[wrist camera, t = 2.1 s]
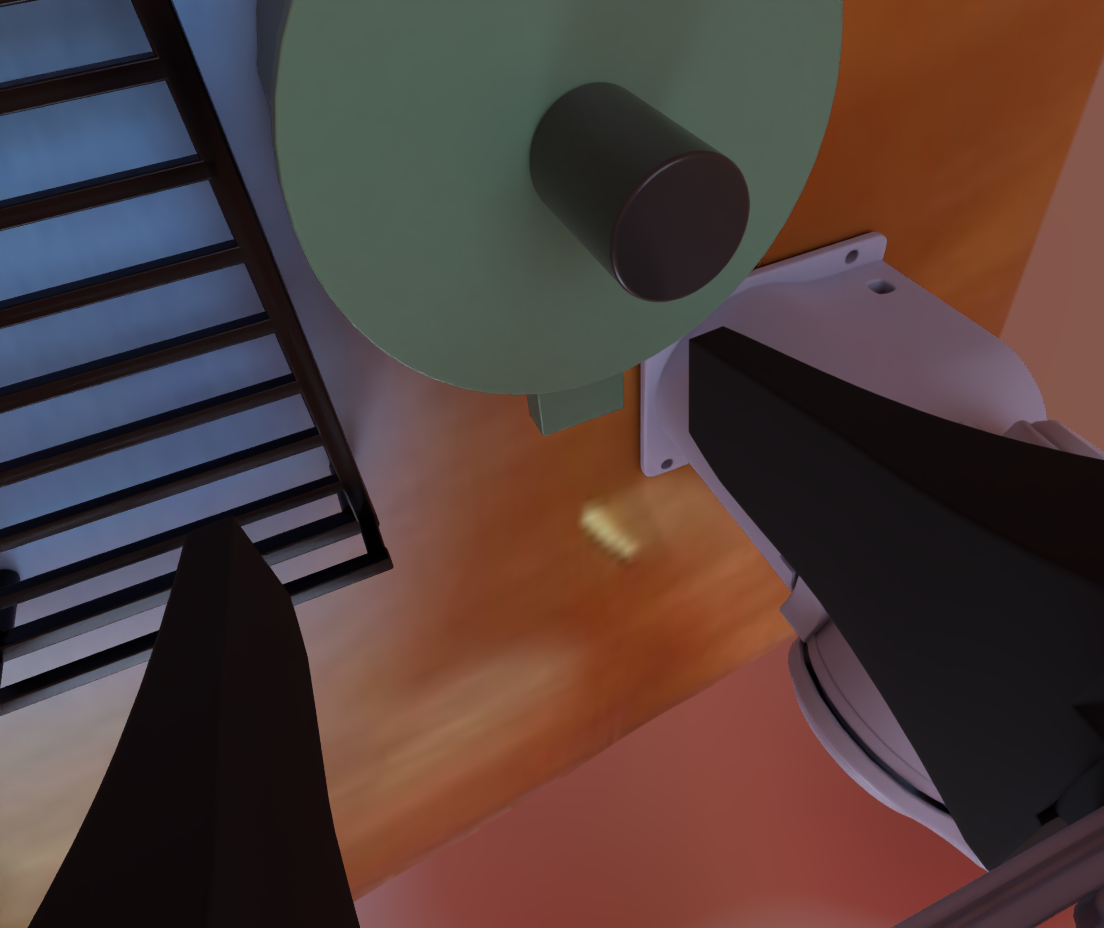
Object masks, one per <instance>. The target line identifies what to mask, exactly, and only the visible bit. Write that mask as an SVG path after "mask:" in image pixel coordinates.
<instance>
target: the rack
mask: <svg viewBox="0 0 1104 928" xmlns="http://www.w3.org/2000/svg"><path fill="white" fill-rule="evenodd" d="M31 1H37V0H0V7H4V6H10V5H15V4H21V3H26V2H31ZM131 2H132V4H133V7H134V9H135V11H136V14H137V16H138V18H139V21H140V23H141V25H142V28H143V30H144V32H145V35H146V37H147V39H148V41H149V44H150V46H151V48H152V51H151V52H147V53H142V54H137V55H132V56H127V57H122V58H118V59H113V60H108V61H103V62H98V63H93V64H89V65H84V66H79V67H74V68H69V69H64V70H60V71H55V72H50V73H45V74H40V75H35V76H31V77H26V78H21V79H16V80H11V81H6V82H2V83H0V116H3V115H8V114H12V113H17V112H22V111H26V110H31V109H35V108H40V107H45V106H49V105H54V104H59V103H63V102H68V101H73V100H77V99H82V98H86V97H91V96H96V95H100V94H105V93H110V92H114V91H119V90H124V89H128V88H133V87H137V86H142V85H147V84H151V83H156V82H161V81H166V83H167V85H168V88H169V90H170V92H171V95H172V97H173V99H174V102H175V104H176V106H177V109H178V111H179V113H180V116H181V118H182V120H183V122H184V125H185V127H186V129H187V132H188V134H189V136H190V139H191V141H192V143H193V146H194V148H195V150H196V153H197V154H194V155H190V156H186V157H182V158H178V159H173V160H169V161H165V162H161V163H157V164H152V165H148V166H144V167H140V168H136V169H131V170H127V171H123V172H119V173H115V174H110V175H106V176H102V177H98V178H94V179H89V180H85V181H81V182H77V183H73V184H68V185H64V186H60V187H56V188H52V189H47V190H43V191H39V192H35V193H31V194H27V195H22V196H18V197H14V198H10V199H6V200H1V201H0V231H2V230H6V229H11V228H15V227H19V226H23V225H27V224H31V223H35V222H39V221H43V220H47V219H51V218H55V217H59V216H63V215H67V214H71V213H75V212H80V211H84V210H88V209H92V208H96V207H100V206H104V205H108V204H112V203H116V202H120V201H124V200H128V199H132V198H136V197H140V196H144V195H149V194H153V193H157V192H161V191H165V190H169V189H173V188H177V187H181V186H185V185H189V184H193V183H197V182H201V181H205V180H209V183H210V185H211V187H212V190H213V192H214V194H215V196H216V199H217V201H218V203H219V206H220V208H221V210H222V213H223V215H224V217H225V220H226V222H227V224H228V227H229V229H230V231H231V233H232V236H233V238H234V239H233V240H229V241H226V242H222V243H218V244H214V245H210V246H207V247H203V248H199V249H195V250H192V251H188V252H184V253H180V254H176V255H173V256H169V257H165V258H161V259H158V260H154V261H150V262H146V263H143V264H139V265H135V266H131V267H127V268H124V269H120V270H116V271H112V272H109V273H105V274H101V275H97V276H93V277H90V278H86V279H82V280H78V281H75V282H71V283H67V284H63V285H60V286H56V287H52V288H48V289H44V290H41V291H37V292H33V293H29V294H26V295H22V296H18V297H14V298H11V299H7V300H3V301H0V329H3V328H6V327H10V326H14V325H17V324H21V323H25V322H28V321H32V320H36V319H39V318H43V317H47V316H50V315H54V314H58V313H61V312H65V311H69V310H72V309H76V308H80V307H83V306H87V305H91V304H94V303H98V302H102V301H105V300H109V299H113V298H116V297H120V296H124V295H127V294H131V293H135V292H138V291H142V290H146V289H149V288H153V287H157V286H160V285H164V284H168V283H171V282H175V281H179V280H182V279H186V278H190V277H193V276H197V275H201V274H205V273H208V272H212V271H216V270H219V269H223V268H227V267H230V266H234V265H238V264H241V263H244V264H245V266H246V268H247V270H248V273H249V275H250V277H251V280H252V282H253V284H254V287H255V289H256V291H257V294H258V296H259V298H260V301H261V303H262V305H263V308H264V310H265V312H261V313H258V314H254V315H251V316H247V317H244V318H241V319H237V320H234V321H230V322H227V323H223V324H220V325H216V326H213V327H209V328H206V329H202V330H199V331H195V332H192V333H188V334H185V335H182V336H178V337H175V338H171V339H168V340H164V341H161V342H157V343H154V344H150V345H147V346H143V347H140V348H136V349H133V350H129V351H126V352H123V353H119V354H116V355H112V356H109V357H105V358H102V359H98V360H95V361H91V362H88V363H84V364H81V365H77V366H74V367H70V368H67V369H64V370H60V371H57V372H53V373H50V374H46V375H43V376H39V377H36V378H32V379H29V380H25V381H22V382H18V383H15V384H11V385H8V386H5V387H1V388H0V414H1V413H5V412H8V411H12V410H15V409H18V408H22V407H25V406H29V405H32V404H35V403H39V402H42V401H46V400H49V399H52V398H56V397H59V396H62V395H66V394H69V393H73V392H76V391H79V390H83V389H86V388H90V387H93V386H96V385H100V384H103V383H107V382H110V381H113V380H117V379H120V378H123V377H127V376H130V375H134V374H137V373H140V372H144V371H147V370H151V369H154V368H157V367H161V366H164V365H168V364H171V363H174V362H178V361H181V360H184V359H188V358H191V357H195V356H198V355H201V354H205V353H208V352H212V351H215V350H218V349H222V348H225V347H229V346H232V345H235V344H239V343H242V342H245V341H249V340H252V339H256V338H259V337H262V336H266V335H269V334H273V333H275V335H276V338H277V340H278V342H279V345H280V347H281V349H282V351H283V354H284V356H285V358H286V361H287V363H288V365H289V368H290V370H291V372H292V373H291V374H288V375H285V376H281V377H278V378H275V379H272V380H268V381H265V382H262V383H259V384H255V385H252V386H249V387H246V388H242V389H239V390H236V391H233V392H229V393H226V394H223V395H220V396H216V397H213V398H210V399H207V400H203V401H200V402H197V403H194V404H190V405H187V406H184V407H181V408H177V409H174V410H171V411H168V412H165V413H161V414H158V415H155V416H152V417H148V418H145V419H142V420H139V421H135V422H132V423H129V424H126V425H122V426H119V427H116V428H113V429H109V430H106V431H103V432H100V433H96V434H93V435H90V436H87V437H83V438H80V439H77V440H74V441H70V442H67V443H64V444H61V445H57V446H54V447H51V448H48V449H44V450H41V451H38V452H35V453H32V454H28V455H25V456H22V457H19V458H15V459H12V460H9V461H6V462H2V463H0V488H1V487H4V486H7V485H10V484H13V483H17V482H20V481H23V480H26V479H29V478H33V477H36V476H39V475H42V474H45V473H48V472H52V471H55V470H58V469H61V468H64V467H67V466H71V465H74V464H77V463H80V462H83V461H87V460H90V459H93V458H96V457H99V456H102V455H106V454H109V453H112V452H115V451H118V450H121V449H125V448H128V447H131V446H134V445H137V444H141V443H144V442H147V441H150V440H153V439H156V438H160V437H163V436H166V435H169V434H172V433H175V432H179V431H182V430H185V429H188V428H191V427H195V426H198V425H201V424H204V423H207V422H210V421H214V420H217V419H220V418H223V417H226V416H229V415H233V414H236V413H239V412H242V411H245V410H249V409H252V408H255V407H258V406H261V405H264V404H268V403H271V402H274V401H277V400H280V399H283V398H287V397H290V396H293V395H296V394H299V393H301V395H302V398H303V400H304V402H305V405H306V407H307V409H308V412H309V414H310V416H311V419H312V421H313V423H314V425H315V427H313V428H310V429H307V430H304V431H301V432H298V433H295V434H291V435H288V436H285V437H282V438H279V439H276V440H273V441H270V442H267V443H264V444H261V445H258V446H255V447H252V448H249V449H245V450H242V451H239V452H236V453H233V454H230V455H227V456H224V457H221V458H218V459H215V460H212V461H209V462H206V463H202V464H199V465H196V466H193V467H190V468H187V469H184V470H181V471H178V472H175V473H172V474H169V475H166V476H163V477H160V478H156V479H153V480H150V481H147V482H144V483H141V484H138V485H135V486H132V487H129V488H126V489H123V490H120V491H117V492H114V493H110V494H107V495H104V496H101V497H98V498H95V499H92V500H89V501H86V502H83V503H80V504H77V505H74V506H71V507H67V508H64V509H61V510H58V511H55V512H52V513H49V514H46V515H43V516H40V517H37V518H34V519H31V520H28V521H25V522H21V523H18V524H15V525H12V526H9V527H6V528H3V529H0V552H3V551H6V550H9V549H12V548H15V547H18V546H21V545H24V544H27V543H30V542H33V541H36V540H39V539H42V538H45V537H48V536H51V535H55V534H58V533H61V532H64V531H67V530H70V529H73V528H76V527H79V526H82V525H85V524H88V523H91V522H94V521H97V520H100V519H103V518H106V517H109V516H112V515H115V514H118V513H121V512H124V511H127V510H130V509H133V508H136V507H139V506H142V505H145V504H148V503H151V502H154V501H157V500H160V499H163V498H166V497H169V496H172V495H175V494H178V493H181V492H184V491H187V490H190V489H193V488H196V487H199V486H202V485H205V484H208V483H211V482H214V481H217V480H220V479H223V478H226V477H229V476H232V475H235V474H238V473H241V472H244V471H247V470H250V469H253V468H256V467H259V466H262V465H265V464H268V463H271V462H274V461H277V460H280V459H283V458H286V457H289V456H292V455H295V454H298V453H301V452H304V451H307V450H310V449H313V448H316V447H319V446H324V449H325V451H326V453H327V456H328V458H329V460H330V465H329V468H330V471H331V475H330V476H327V477H324V478H321V479H318V480H315V481H312V482H310V483H307V484H304V485H301V486H298V487H295V488H292V489H289V490H286V491H283V492H280V493H277V494H274V495H271V496H269V497H266V498H263V499H260V500H257V501H254V502H251V503H248V504H245V505H242V506H239V507H236V508H233V509H230V510H228V511H225V512H222V513H219V514H216V515H213V516H210V517H207V518H204V519H201V520H198V521H195V522H192V523H189V524H187V525H184V526H181V527H178V528H175V529H172V530H169V531H166V532H163V533H160V534H157V535H154V536H151V537H149V538H146V539H143V540H140V541H137V542H134V543H131V544H128V545H125V546H122V547H119V548H116V549H113V550H110V551H108V552H105V553H102V554H99V555H96V556H93V557H90V558H87V559H84V560H81V561H78V562H75V563H72V564H69V565H67V566H64V567H61V568H58V569H55V570H52V571H49V572H46V573H43V574H40V575H37V576H34V577H31V578H28V579H26V580H23V581H20V577H19V575H18V574H17V573H16V572H14V571H11V570H6V569H2V570H0V686H1V678H2V671H3V662H6V661H9V660H11V659H14V658H17V657H20V656H22V655H25V654H28V653H31V652H34V651H36V650H39V649H42V648H45V647H47V646H50V645H53V644H56V643H58V642H61V641H64V640H67V639H69V638H72V637H75V636H78V635H81V634H83V633H86V632H89V631H92V630H94V629H97V628H100V627H103V626H105V625H108V624H111V623H114V622H116V621H119V620H122V619H125V618H128V617H130V616H133V615H136V614H139V613H141V612H144V611H147V610H150V609H152V608H155V607H158V606H161V605H163V604H166V603H167V602H168V599H169V596H170V592H171V589H172V585H173V582H174V578H175V574H176V571H177V570H176V571H173V572H170V573H167V574H165V575H162V576H159V577H156V578H153V579H150V580H148V581H145V582H142V583H139V584H136V585H133V586H131V587H128V588H125V589H122V590H119V591H116V592H114V593H111V594H108V595H105V596H102V597H99V598H97V599H94V600H91V601H88V602H85V603H83V604H80V605H77V606H74V607H71V608H68V609H66V610H63V611H60V612H57V613H54V614H51V615H49V616H46V617H43V618H40V619H37V620H34V621H32V622H29V623H26V624H23V625H20V626H17V627H15V628H14V624H15V616H16V608H17V604H19V603H22V602H25V601H28V600H30V599H33V598H36V597H39V596H42V595H45V594H48V593H51V592H53V591H56V590H59V589H62V588H65V587H68V586H71V585H74V584H76V583H79V582H82V581H85V580H88V579H91V578H94V577H97V576H100V575H102V574H105V573H108V572H111V571H114V570H117V569H120V568H123V567H125V566H128V565H131V564H134V563H137V562H140V561H143V560H146V559H148V558H151V557H154V556H157V555H160V554H163V553H166V552H169V551H171V550H174V549H177V548H180V547H183V545H184V541H185V539H186V537H187V535H188V533H189V532H190V531H192V530H195V529H198V528H200V527H203V526H205V525H208V524H211V523H213V522H216V521H218V520H221V519H224V518H226V517H229V516H231V515H233V517H234V518H235V519H236V521H237V522H238V524H239V525H240V526H243V525H246V524H249V523H252V522H255V521H258V520H261V519H264V518H266V517H269V516H272V515H275V514H278V513H281V512H284V511H287V510H289V509H292V508H295V507H298V506H301V505H304V504H307V503H310V502H313V501H315V500H318V499H321V498H324V497H327V496H330V495H333V494H336V493H337V495H338V499H339V502H340V506H341V509H342V512H340V513H337V514H334V515H331V516H329V517H326V518H323V519H320V520H317V521H315V522H312V523H309V524H306V525H303V526H300V527H298V528H295V529H292V530H289V531H286V532H283V533H281V534H278V535H275V536H272V537H269V538H266V539H264V540H261V541H258V542H255V543H253V544H254V546H255V547H256V549H257V550H258V551H259V553H260V554H261V556H262V557H263V558H264V560H265V561H266V562H267V564H268V565H269V566H271V565H274V564H277V563H280V562H282V561H285V560H288V559H291V558H293V557H296V556H299V555H302V554H304V553H307V552H310V551H313V550H316V549H318V548H321V547H324V546H327V545H329V544H332V543H335V542H338V541H340V540H343V539H346V538H349V537H351V536H354V535H357V534H360V533H362V537H363V540H364V543H365V546H366V550H367V554H364V555H362V556H359V557H356V558H354V559H351V560H348V561H345V562H343V563H340V564H337V565H335V566H332V567H329V568H326V569H324V570H321V571H318V572H316V573H313V574H310V575H307V576H305V577H302V578H299V579H297V580H294V581H291V582H288V583H286V584H283V586H284V587H285V589H286V590H287V592H288V593H289V594H290V596H291V600H292V603H293V606H295V605H297V604H300V603H303V602H305V601H308V600H311V599H313V598H316V597H319V596H321V595H324V594H327V593H329V592H332V591H335V590H337V589H340V588H343V587H345V586H348V585H351V584H353V583H356V582H358V581H361V580H364V579H366V578H369V577H372V576H374V575H377V574H380V573H382V572H385V571H388V570H390V569H393V563H392V560H391V557H390V554H389V552H388V550H387V548H386V547H385V545H384V542H383V539H382V535H381V532H380V529H379V521H378V518H377V515H376V512H375V509H374V507H373V504H372V502H371V499H370V497H369V494H368V492H367V489H366V487H365V484H364V482H363V479H362V477H361V474H360V472H359V469H358V467H357V464H356V462H355V459H354V456H353V454H352V451H351V449H350V446H349V444H348V441H347V439H346V436H345V434H344V431H343V429H342V426H341V424H340V421H339V419H338V416H337V414H336V411H335V409H334V406H333V404H332V401H331V399H330V396H329V393H328V391H327V388H326V386H325V383H324V381H323V378H322V376H321V373H320V371H319V368H318V366H317V363H316V361H315V358H314V356H313V353H312V351H311V348H310V346H309V343H308V341H307V338H306V336H305V333H304V330H303V328H302V325H301V323H300V320H299V318H298V315H297V313H296V310H295V308H294V305H293V303H292V300H291V298H290V295H289V293H288V290H287V288H286V285H285V283H284V280H283V278H282V275H281V273H280V270H279V267H278V265H277V262H276V260H275V257H274V255H273V252H272V250H271V247H270V245H269V242H268V240H267V237H266V235H265V232H264V230H263V227H262V225H261V222H260V220H259V217H258V215H257V212H256V209H255V207H254V204H253V202H252V199H251V197H250V194H249V192H248V189H247V187H246V184H245V182H244V179H243V177H242V174H241V172H240V169H239V167H238V164H237V162H236V159H235V157H234V154H233V152H232V149H231V146H230V144H229V141H228V139H227V136H226V134H225V131H224V129H223V126H222V124H221V121H220V119H219V116H218V114H217V111H216V109H215V106H214V104H213V101H212V99H211V96H210V94H209V91H208V89H207V86H206V83H205V81H204V78H203V76H202V73H201V71H200V68H199V66H198V63H197V61H196V58H195V56H194V53H193V51H192V48H191V46H190V43H189V41H188V38H187V36H186V33H185V31H184V28H183V26H182V23H181V20H180V18H179V15H178V13H177V10H176V8H175V5H174V3H173V0H131ZM158 632H159V630H158V631H155V632H153V633H150V634H147V635H145V636H142V637H139V638H136V639H134V640H131V641H128V642H126V643H123V644H120V645H117V646H115V647H112V648H109V649H107V650H104V651H101V652H98V653H96V654H93V655H90V656H88V657H85V658H82V659H79V660H77V661H74V662H71V663H69V664H66V665H63V666H60V667H58V668H55V669H52V670H50V671H47V672H44V673H41V674H39V675H36V676H33V677H31V678H28V679H25V680H22V681H20V682H17V683H14V684H12V685H9V686H6V687H3V688H1V689H0V716H2V715H5V714H7V713H10V712H12V711H15V710H18V709H20V708H23V707H26V706H28V705H31V704H34V703H36V702H39V701H42V700H44V699H47V698H50V697H52V696H55V695H58V694H60V693H63V692H66V691H68V690H71V689H74V688H76V687H79V686H82V685H84V684H87V683H90V682H92V681H95V680H98V679H100V678H103V677H106V676H108V675H111V674H114V673H116V672H119V671H122V670H124V669H127V668H130V667H132V666H135V665H138V664H140V663H143V662H146V661H148V660H149V659H150V656H151V653H152V650H153V647H154V644H155V641H156V638H157V635H158Z"/></svg>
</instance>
